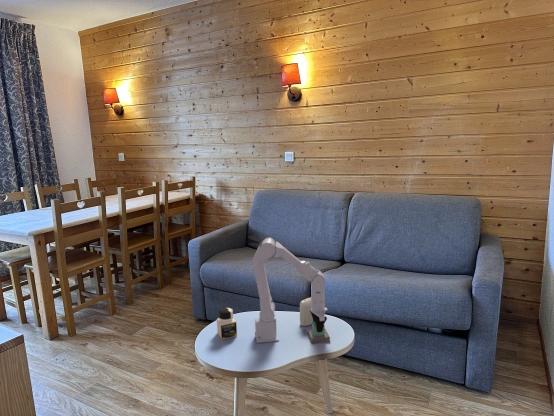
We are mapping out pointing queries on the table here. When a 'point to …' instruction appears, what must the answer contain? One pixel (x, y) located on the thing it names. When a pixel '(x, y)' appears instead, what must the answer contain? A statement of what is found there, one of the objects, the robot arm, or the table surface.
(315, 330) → the cube
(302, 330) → the table surface
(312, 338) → the base
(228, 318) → the medicine bottle
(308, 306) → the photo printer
